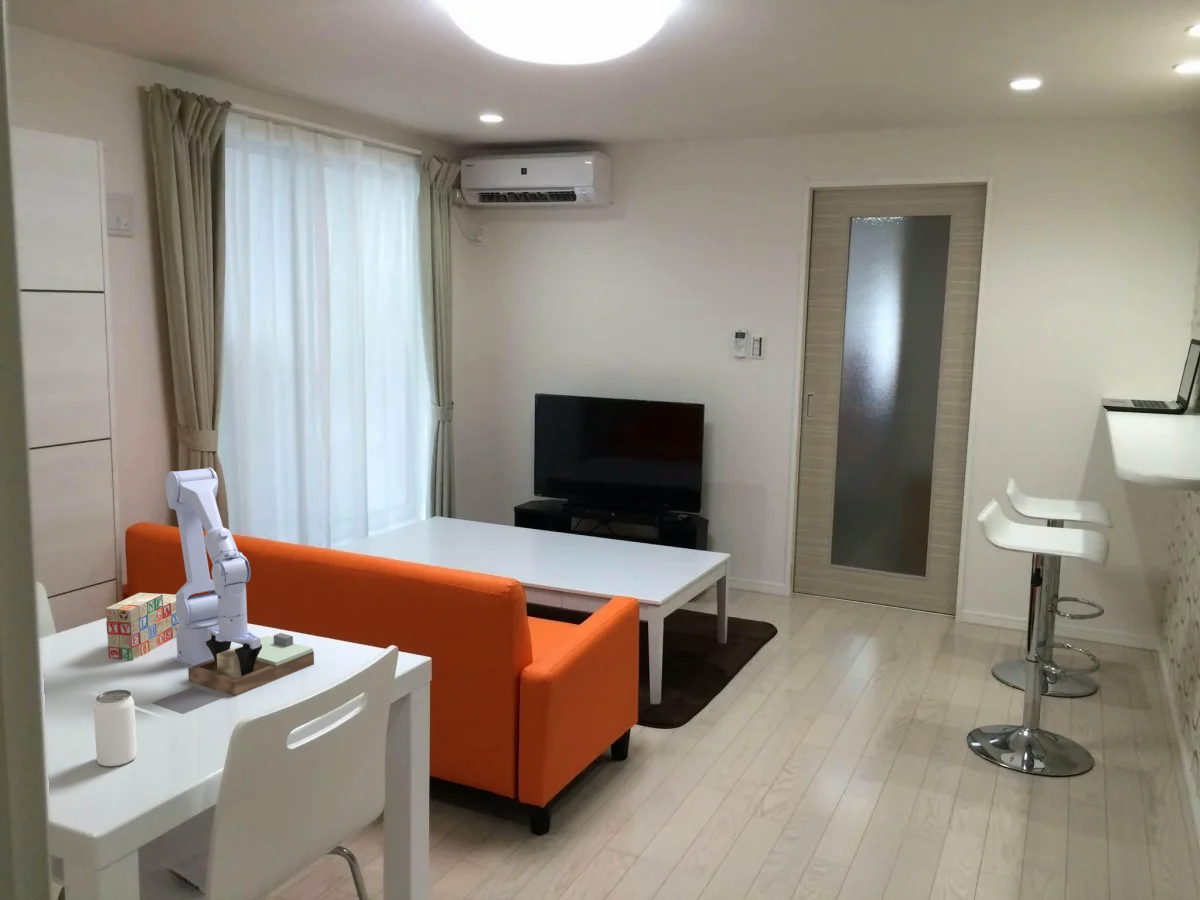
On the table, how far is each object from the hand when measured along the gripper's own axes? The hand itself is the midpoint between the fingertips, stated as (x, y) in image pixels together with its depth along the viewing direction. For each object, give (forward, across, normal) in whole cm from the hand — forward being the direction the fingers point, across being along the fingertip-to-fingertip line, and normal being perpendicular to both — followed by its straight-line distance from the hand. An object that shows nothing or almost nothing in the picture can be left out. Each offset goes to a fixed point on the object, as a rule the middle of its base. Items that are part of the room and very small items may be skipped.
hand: (235, 673), depth 210 cm
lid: (-2, 0, +10) cm, 10 cm away
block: (+1, 0, 0) cm, 1 cm away
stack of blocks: (+2, -36, +5) cm, 36 cm away
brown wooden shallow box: (+2, 0, +4) cm, 5 cm away
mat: (+2, +1, -12) cm, 13 cm away
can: (+2, +12, -36) cm, 38 cm away
